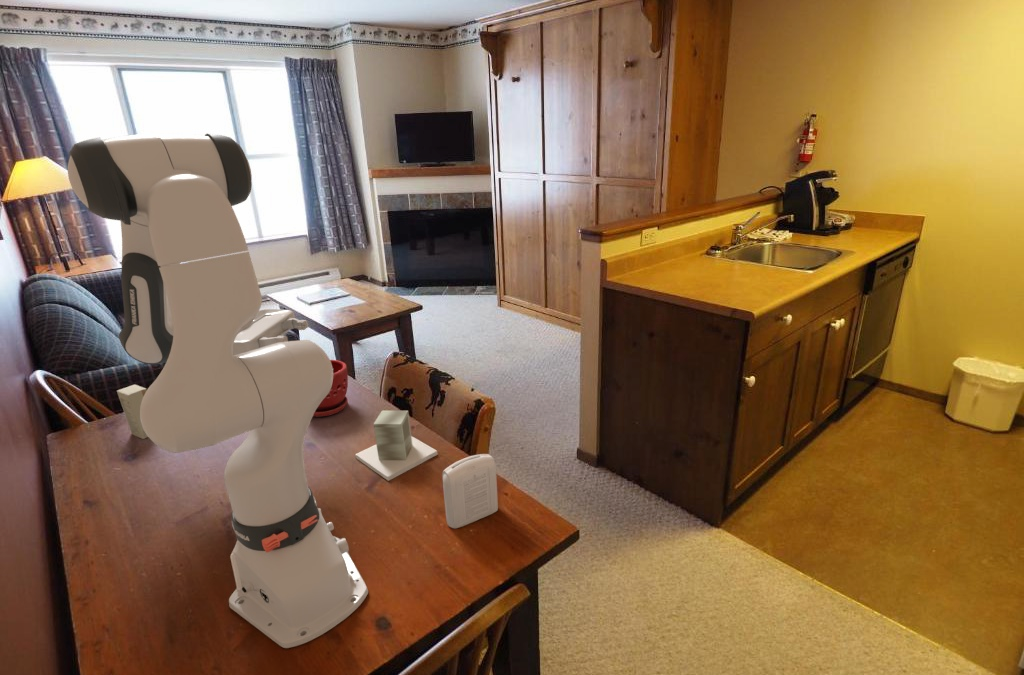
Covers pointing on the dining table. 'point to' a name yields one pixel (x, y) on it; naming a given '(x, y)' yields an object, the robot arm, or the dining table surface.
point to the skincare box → (133, 408)
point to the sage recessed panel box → (393, 435)
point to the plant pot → (335, 391)
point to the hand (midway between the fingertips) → (296, 332)
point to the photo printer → (470, 490)
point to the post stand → (396, 467)
